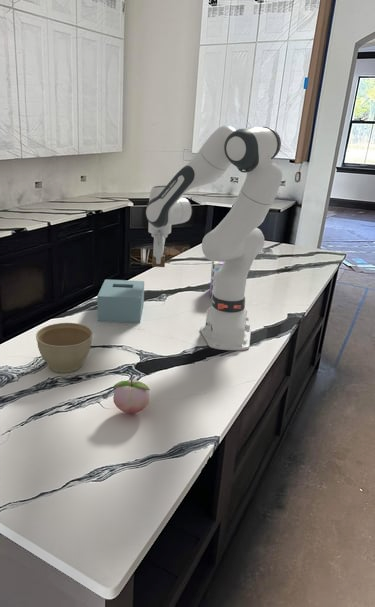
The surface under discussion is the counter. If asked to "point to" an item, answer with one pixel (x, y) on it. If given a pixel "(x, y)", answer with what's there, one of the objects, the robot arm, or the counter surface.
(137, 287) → the box
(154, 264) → the brown rectangular block
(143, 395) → the decorative fruit
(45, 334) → the planter bowl
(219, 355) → the counter surface
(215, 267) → the candy box
